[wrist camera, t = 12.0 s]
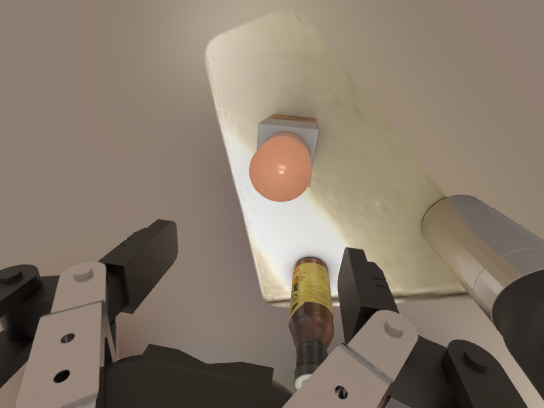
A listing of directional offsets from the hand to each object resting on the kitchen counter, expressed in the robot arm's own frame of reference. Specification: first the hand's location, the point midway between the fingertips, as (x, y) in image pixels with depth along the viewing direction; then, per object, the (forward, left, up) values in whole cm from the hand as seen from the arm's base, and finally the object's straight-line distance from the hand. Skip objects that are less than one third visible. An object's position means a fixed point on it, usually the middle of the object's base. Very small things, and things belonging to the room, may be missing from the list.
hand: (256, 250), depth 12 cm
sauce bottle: (-6, +22, -29) cm, 37 cm away
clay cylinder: (0, -1, -17) cm, 17 cm away
